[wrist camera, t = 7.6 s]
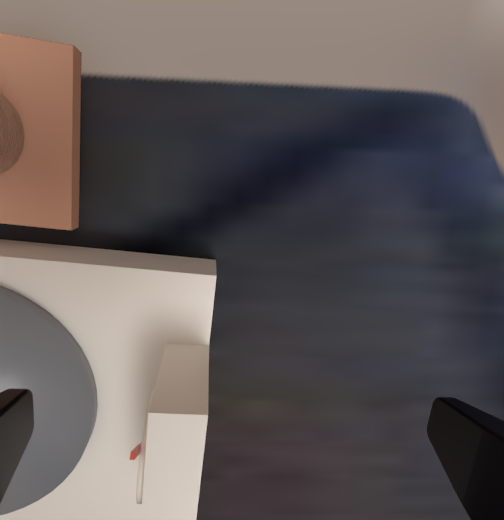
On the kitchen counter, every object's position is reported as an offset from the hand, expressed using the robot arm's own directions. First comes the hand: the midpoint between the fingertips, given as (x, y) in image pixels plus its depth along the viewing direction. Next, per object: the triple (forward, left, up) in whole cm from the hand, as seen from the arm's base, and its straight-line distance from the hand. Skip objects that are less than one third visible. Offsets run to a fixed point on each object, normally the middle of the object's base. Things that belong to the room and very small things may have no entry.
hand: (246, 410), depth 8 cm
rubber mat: (+5, +12, -12) cm, 17 cm away
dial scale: (-7, +9, -12) cm, 16 cm away
